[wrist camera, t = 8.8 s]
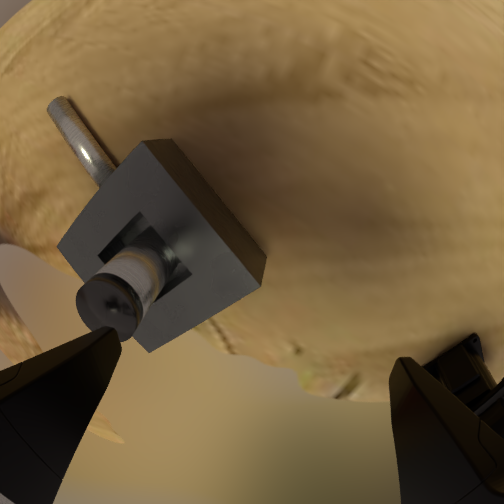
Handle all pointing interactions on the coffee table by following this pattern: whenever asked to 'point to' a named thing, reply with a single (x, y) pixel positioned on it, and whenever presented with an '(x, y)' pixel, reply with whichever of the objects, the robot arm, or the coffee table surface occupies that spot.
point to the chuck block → (159, 229)
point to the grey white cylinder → (127, 285)
